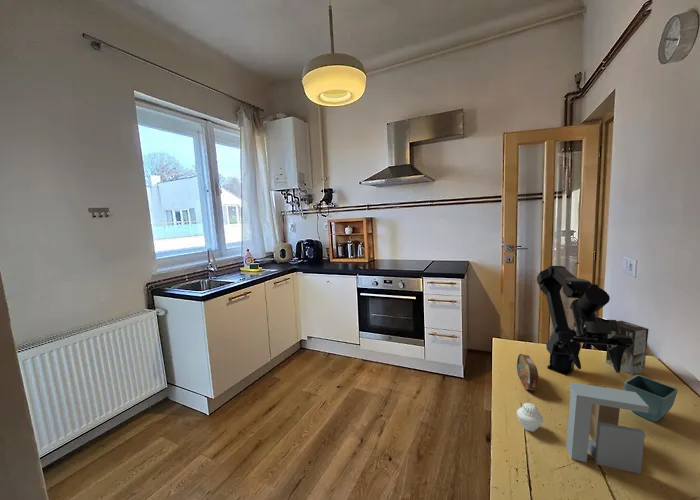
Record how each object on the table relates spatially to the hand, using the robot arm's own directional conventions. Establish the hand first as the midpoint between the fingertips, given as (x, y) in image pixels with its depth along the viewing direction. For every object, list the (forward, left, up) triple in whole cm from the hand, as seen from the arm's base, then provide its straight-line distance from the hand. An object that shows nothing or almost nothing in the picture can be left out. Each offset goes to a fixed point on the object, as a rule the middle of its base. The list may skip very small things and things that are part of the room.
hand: (598, 370), depth 86 cm
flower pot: (+9, +11, -13) cm, 20 cm away
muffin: (-8, -21, -13) cm, 26 cm away
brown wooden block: (+4, -10, -13) cm, 17 cm away
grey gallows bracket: (+7, -18, -13) cm, 23 cm away
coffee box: (-3, +39, -13) cm, 41 cm away
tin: (-19, 0, -13) cm, 23 cm away
